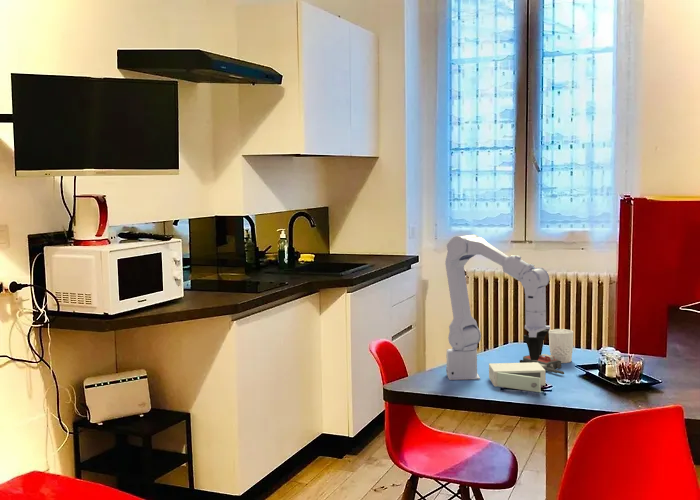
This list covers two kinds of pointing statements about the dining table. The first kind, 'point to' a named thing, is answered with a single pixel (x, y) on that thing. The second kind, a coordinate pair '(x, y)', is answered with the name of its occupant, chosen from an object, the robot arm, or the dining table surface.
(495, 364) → the device housing
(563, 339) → the white cup
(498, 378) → the side door
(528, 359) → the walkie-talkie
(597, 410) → the dining table surface
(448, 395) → the dining table surface
